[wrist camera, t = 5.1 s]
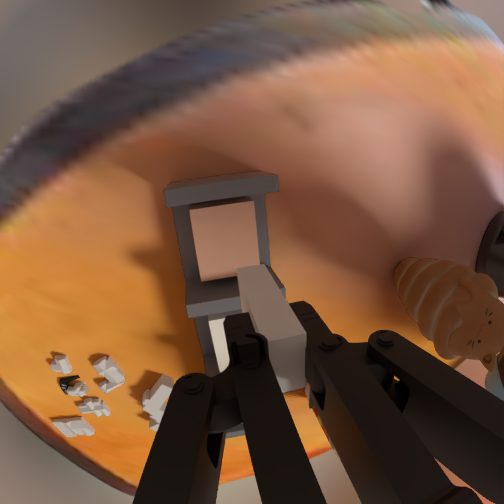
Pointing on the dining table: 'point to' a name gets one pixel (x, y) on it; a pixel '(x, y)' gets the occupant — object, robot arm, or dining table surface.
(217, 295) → the keypad
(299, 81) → the dining table surface
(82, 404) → the white puzzle pieces
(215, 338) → the cream key
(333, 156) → the dining table surface
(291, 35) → the dining table surface
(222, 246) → the brown flat block
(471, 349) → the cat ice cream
